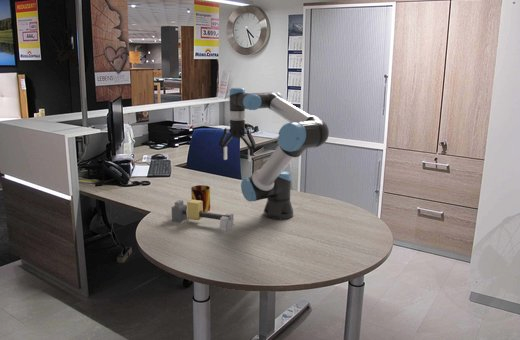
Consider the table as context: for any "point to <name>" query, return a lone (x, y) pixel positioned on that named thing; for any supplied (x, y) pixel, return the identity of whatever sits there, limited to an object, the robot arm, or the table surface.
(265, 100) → the robot arm
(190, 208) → the sleeve
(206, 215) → the dark grey rod
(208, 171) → the table surface
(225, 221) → the gray notched block
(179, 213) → the block
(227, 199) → the table surface
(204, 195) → the mug
